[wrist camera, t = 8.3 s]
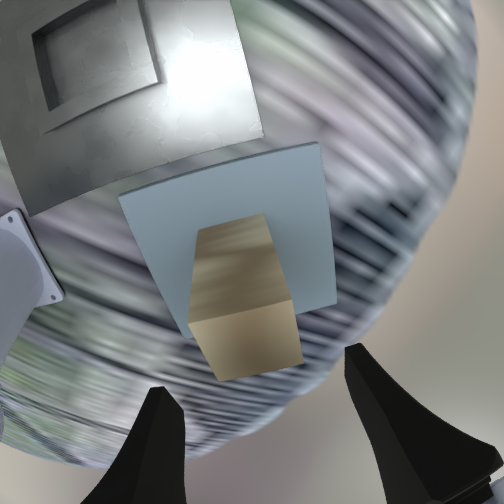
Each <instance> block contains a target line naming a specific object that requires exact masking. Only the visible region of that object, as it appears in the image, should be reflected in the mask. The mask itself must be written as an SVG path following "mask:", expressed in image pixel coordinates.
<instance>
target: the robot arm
mask: <svg viewBox="0 0 504 504" xmlns="http://www.w3.org/2000/svg"><path fill="white" fill-rule="evenodd" d="M11 217H12V219H13V220H12V219H11ZM53 295H54V296H55V297H54V296H53ZM63 299H64V293H63V291H62V289H61V288H60V286H59V285H58V283H57V281H56V280H55V278H54V276H53V274H52V273H51V271H50V269H49V267H48V266H47V264H46V262H45V260H44V258H43V257H42V255H41V253H40V251H39V249H38V247H37V245H36V243H35V241H34V239H33V237H32V235H31V233H30V231H29V229H28V227H27V225H26V223H25V221H24V219H23V217H22V214H21V212H20V211H19V210H18V209H14V210H12V211H10V212H8V213H6V214H5V215H3V216H1V217H0V369H1V367H2V365H3V363H4V361H5V359H6V357H7V355H8V353H9V351H10V349H11V347H12V346H13V344H14V342H15V340H16V338H17V336H18V335H19V333H20V331H21V329H22V327H23V326H24V324H25V322H26V321H27V319H28V317H29V315H30V314H31V312H32V310H33V309H34V308H35V307H40V306H44V305H48V304H52V303H56V302H60V301H62V300H63ZM345 379H346V383H347V386H348V389H349V392H350V395H351V398H352V401H353V403H354V405H355V408H356V410H357V412H358V415H359V417H360V419H361V421H362V423H363V426H364V428H365V430H366V433H367V435H368V437H369V440H370V442H371V445H372V448H373V451H374V454H375V457H376V461H377V464H378V468H379V471H380V476H381V479H382V483H383V488H384V492H385V496H386V501H387V504H504V476H503V477H502V478H500V479H498V480H496V481H494V482H493V483H491V484H489V482H491V478H490V475H491V474H492V473H494V472H495V471H497V470H498V469H499V468H500V467H502V466H503V464H504V462H503V460H502V458H501V456H500V454H499V452H498V451H497V449H496V448H495V447H494V446H492V445H490V444H487V443H485V442H482V441H480V440H478V439H476V438H473V437H471V436H470V435H468V434H466V433H464V432H462V431H460V430H459V429H457V428H455V427H453V426H451V425H450V424H448V423H447V422H445V421H443V420H442V419H441V418H439V417H438V416H436V415H435V414H433V413H432V412H431V411H429V410H428V409H427V408H425V407H424V406H423V405H421V404H420V403H419V402H418V401H417V400H415V399H414V398H413V397H412V396H411V395H409V393H407V392H406V391H405V390H404V389H403V388H402V387H401V386H400V385H399V384H398V383H397V382H396V381H395V380H394V379H393V378H392V377H390V375H389V374H388V373H387V372H386V371H385V370H384V369H383V368H382V367H381V366H380V365H379V364H378V362H377V361H376V360H375V359H374V358H373V357H372V356H371V355H370V353H369V352H368V351H367V350H366V348H365V347H364V346H363V345H362V344H361V343H357V344H354V345H351V346H348V347H345ZM1 387H2V386H1V384H0V390H1ZM3 430H4V414H3V409H2V406H1V404H0V441H1V438H2V434H3ZM184 459H185V421H184V410H183V409H182V408H181V407H180V405H179V404H178V403H177V402H176V401H175V399H174V398H173V397H172V396H171V395H170V393H169V392H168V391H167V390H166V388H165V387H164V386H161V387H152V388H150V389H149V392H148V394H147V396H146V398H145V400H144V403H143V405H142V407H141V409H140V411H139V414H138V416H137V418H136V420H135V422H134V424H133V426H132V428H131V430H130V433H129V435H128V437H127V439H126V440H125V442H124V444H123V446H122V448H121V450H120V452H119V453H118V455H117V457H116V458H115V460H114V462H113V463H112V465H111V466H110V468H109V469H108V471H107V472H106V474H105V475H104V476H103V478H102V479H101V480H100V482H99V483H98V484H97V486H96V487H95V488H94V489H93V490H92V492H91V493H90V494H89V495H88V496H87V497H86V498H85V499H84V500H83V501H82V502H81V503H80V504H187V503H186V496H185V487H184Z"/></svg>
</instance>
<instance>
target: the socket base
mask: <svg viewBox="0 0 504 504" xmlns="http://www.w3.org/2000/svg"><path fill="white" fill-rule="evenodd" d="M262 137H264V134H263V130H262V126H261V121H260V117H259V113H258V109H257V104H256V100H255V96H254V92H253V88H252V84H251V80H250V76H249V72H248V68H247V64H246V60H245V56H244V52H243V48H242V45H241V41H240V37H239V33H238V29H237V26H236V22H235V18H234V15H233V11H232V8H231V4H230V1H229V0H2V1H1V2H0V139H1V143H2V146H3V149H4V152H5V155H6V158H7V161H8V164H9V167H10V169H11V172H12V175H13V177H14V180H15V183H16V185H17V188H18V190H19V193H20V195H21V197H22V200H23V202H24V204H25V207H26V209H27V211H28V213H29V216H30V217H32V216H34V215H36V214H38V213H40V212H42V211H44V210H46V209H49V208H51V207H53V206H55V205H58V204H60V203H62V202H64V201H67V200H69V199H71V198H74V197H76V196H78V195H81V194H83V193H86V192H88V191H91V190H93V189H96V188H98V187H101V186H103V185H106V184H108V183H111V182H114V181H116V180H119V179H122V178H125V177H127V176H130V175H133V174H136V173H139V172H142V171H145V170H147V169H150V168H153V167H156V166H160V165H163V164H166V163H169V162H172V161H175V160H179V159H182V158H185V157H189V156H192V155H195V154H199V153H202V152H206V151H210V150H213V149H217V148H221V147H225V146H228V145H232V144H236V143H240V142H244V141H249V140H253V139H257V138H262Z"/></svg>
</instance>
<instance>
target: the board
mask: <svg viewBox="0 0 504 504" xmlns="http://www.w3.org/2000/svg"><path fill="white" fill-rule="evenodd" d="M118 199H119V202H120V204H121V207H122V209H123V212H124V214H125V216H126V219H127V221H128V224H129V226H130V228H131V231H132V233H133V235H134V237H135V240H136V242H137V244H138V246H139V249H140V251H141V253H142V255H143V257H144V260H145V262H146V264H147V266H148V268H149V270H150V272H151V274H152V277H153V279H154V281H155V283H156V285H157V287H158V289H159V291H160V293H161V295H162V297H163V299H164V301H165V303H166V305H167V307H168V309H169V310H170V312H171V314H172V316H173V318H174V320H175V322H176V324H177V326H178V327H179V329H180V331H181V333H182V335H183V337H184V338H185V339H189V338H194V336H193V334H192V332H191V330H190V328H189V326H188V324H187V322H188V311H189V301H190V291H191V282H192V273H193V265H194V256H195V248H196V241H197V233H198V230H199V229H203V228H206V227H210V226H214V225H218V224H221V223H225V222H229V221H233V220H237V219H241V218H245V217H249V216H253V215H257V214H261V213H263V214H264V217H265V220H266V223H267V226H268V229H269V232H270V235H271V238H272V240H273V243H274V246H275V249H276V252H277V255H278V258H279V261H280V265H281V268H282V271H283V274H284V277H285V280H286V283H287V286H288V289H289V292H290V295H291V298H292V302H293V308H294V313H295V315H296V314H300V313H303V312H307V311H311V310H315V309H318V308H322V307H326V306H329V305H333V304H336V303H337V291H336V277H335V264H334V253H333V242H332V233H331V223H330V215H329V206H328V198H327V190H326V183H325V176H324V169H323V162H322V156H321V150H320V144H319V143H318V142H312V143H306V144H301V145H296V146H291V147H287V148H282V149H277V150H273V151H268V152H264V153H260V154H255V155H251V156H247V157H243V158H239V159H235V160H231V161H227V162H223V163H220V164H216V165H212V166H208V167H205V168H201V169H198V170H194V171H191V172H187V173H184V174H181V175H177V176H174V177H171V178H167V179H164V180H161V181H158V182H155V183H152V184H149V185H146V186H143V187H140V188H137V189H134V190H131V191H128V192H125V193H122V194H120V195H119V197H118Z"/></svg>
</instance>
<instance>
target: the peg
mask: <svg viewBox="0 0 504 504" xmlns="http://www.w3.org/2000/svg"><path fill="white" fill-rule="evenodd" d="M187 324H188V326H189V328H190V330H191V332H192V334H193V336H194V338H195V339H196V341H197V343H198V345H199V347H200V349H201V351H202V352H203V354H204V356H205V358H206V360H207V362H208V363H209V365H210V367H211V369H212V371H213V372H214V374H215V376H216V378H217V379H218V381H219V382H221V381H226V380H232V379H237V378H242V377H247V376H252V375H257V374H261V373H266V372H270V371H274V370H279V369H283V368H287V367H291V366H295V365H299V364H303V363H304V362H303V356H302V351H301V345H300V340H299V334H298V329H297V323H296V318H295V313H294V308H293V302H292V298H291V295H290V292H289V289H288V286H287V283H286V280H285V277H284V274H283V271H282V268H281V265H280V261H279V258H278V255H277V252H276V249H275V246H274V243H273V240H272V238H271V235H270V232H269V229H268V226H267V223H266V220H265V217H264V214H263V213H261V214H257V215H253V216H249V217H245V218H241V219H237V220H233V221H229V222H225V223H221V224H218V225H214V226H210V227H206V228H203V229H199V230H198V233H197V241H196V248H195V256H194V265H193V273H192V282H191V291H190V301H189V311H188V322H187Z"/></svg>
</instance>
